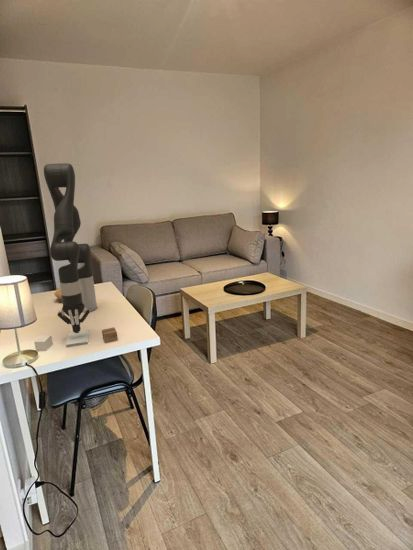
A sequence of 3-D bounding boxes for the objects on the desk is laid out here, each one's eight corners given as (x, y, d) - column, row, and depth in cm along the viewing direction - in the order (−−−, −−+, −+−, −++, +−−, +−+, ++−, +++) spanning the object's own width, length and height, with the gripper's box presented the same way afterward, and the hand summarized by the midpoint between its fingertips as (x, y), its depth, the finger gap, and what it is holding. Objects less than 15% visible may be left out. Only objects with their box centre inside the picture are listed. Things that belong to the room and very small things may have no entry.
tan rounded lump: (92, 291, 213) (98, 300, 200) (52, 296, 203) (56, 305, 190) (91, 279, 211) (97, 286, 198) (51, 283, 201) (55, 291, 188)
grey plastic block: (43, 344, 145) (41, 335, 144) (52, 344, 145) (51, 334, 144) (36, 351, 139) (34, 341, 138) (46, 351, 139) (44, 341, 138)
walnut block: (102, 338, 148) (101, 329, 147) (115, 336, 150) (114, 327, 149) (105, 343, 144) (103, 334, 142) (117, 340, 146) (116, 331, 145)
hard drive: (87, 341, 143) (88, 329, 155) (65, 344, 141) (68, 332, 152) (88, 345, 143) (89, 333, 155) (66, 348, 141) (68, 336, 153)
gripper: (89, 287, 148) (94, 326, 152) (55, 290, 145) (61, 330, 150) (87, 293, 141) (93, 334, 145) (51, 296, 138) (58, 338, 143)
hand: (77, 332), depth 148 cm, fingers closed
